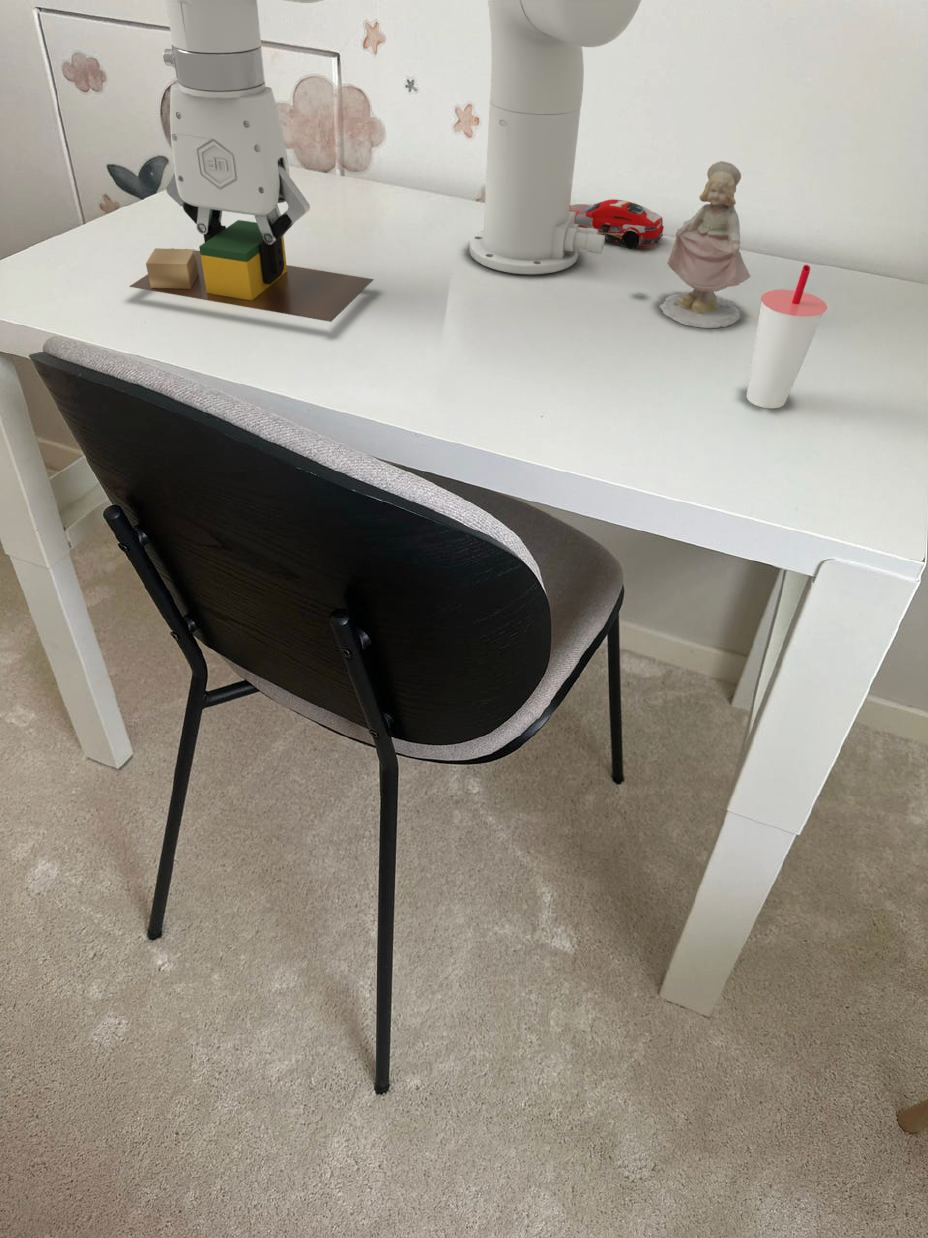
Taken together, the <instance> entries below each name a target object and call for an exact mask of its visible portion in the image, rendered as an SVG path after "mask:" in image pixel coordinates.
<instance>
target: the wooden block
mask: <svg viewBox="0 0 928 1238" xmlns="http://www.w3.org/2000/svg"><path fill="white" fill-rule="evenodd" d="M195 250H196V249H194V248H154V249H153V251H152V253H151V254H150V256H149V258H148V259H147V260H146V263H145V266H146V271H147V274H148V276H149V281H150V286H151V288H173V289H191V288H192V286H193V284H194V282H195V280H196V278H197V276H198V267H197V261H196V255H195Z"/></svg>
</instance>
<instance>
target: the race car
mask: <svg viewBox="0 0 928 1238" xmlns="http://www.w3.org/2000/svg"><path fill="white" fill-rule="evenodd" d="M569 211H571V212H575V221H574V224H578V227H582V228H593V229H598V235H605V241H608V242H614V243H623V245H624V246H625V247H626V248H628V249H634V248H636V247H637V246H639V247H640V246H641V247H642V246H644V247H645V246H652V245H654V244H658V243H659V241H660V240H661V239H662V237H663V236H664V234H663V232H664V225H663V224H664V223H663V216H661V215H660V214H658V213H656V212H653V211H652V210H651V209H648V208H647V207H645V206H644V205H641V204H637V203H635V202H631V201H627V200H623V199H617V198H616V199H614V198H613V199H607V200H602V201H600V202H597V203H594V204H584V203H583V204H581V203H579V204H577V203H576V204H572V205H571V204H570V210H569Z"/></svg>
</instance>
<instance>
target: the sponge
mask: <svg viewBox="0 0 928 1238" xmlns="http://www.w3.org/2000/svg"><path fill="white" fill-rule="evenodd" d="M284 237H285V236H284V235H283V236H282V237H281V239H282V248H283V258H284V270H283V272H282V275H283V274H285V273H286V272H287V266H286V265H287V257H286V247H285V238H284ZM262 242H263V238H262V235H261V233H260V230H259V227H258V224H257V222H256V221H248V220H241V219H237V220H236V221H234V222H233V223H232V224H230V225H229V226H226V229H224V230H223V231H221V232H220V233H218V234H217V235H215V236H214V237H212V238H211V239H209V240H208V241H207V242H205V241H204V242H203V243H202V244H200V245H199V246H198V247H199V249H198V250H199V251H200V254H201V261H202V267H203V273H204V279H205V285H206V291H207V293H209V294H215V295H221V296H227V297H233V298H239V299H245V300H251V301H252V300H253V299H255V298H256V297H257V296H258V295H259V294H261V293H262V292H263V291H264V290H265V289H267V288H268V287H269V286H270V285H271V284H273V283H274V282H275V281H276V280H277V279H279V278H280V277H281V276H282V275H281V276H280V277H279V278H277V279H276V280H275V281H274V282H273V283H271V284H265V283H264V282H263V278H262V270H261V261H260V253H259V244H260V243H262Z"/></svg>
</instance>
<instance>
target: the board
mask: <svg viewBox="0 0 928 1238" xmlns="http://www.w3.org/2000/svg"><path fill="white" fill-rule="evenodd" d="M194 250H195V255H196V261H197V267H198V276H197V278H196V280H195V282H194V284H193V286H192V288H191V289H173V288H151V286H150V281H149V276H148V273H147V274H146V275H144V276H143V277H141V278H140V279H138V280H137V281H135V282H133V283H132V284H131V285H129V288H133V289H139V290H144V291H145V290H147V291H152V292H158V293H162V294H169V295H175V296H181V297H186V298H191V299H199V300H203V301H208V302H215V303H221V304H227V305H232V306H238V307H244V308H249V309H254V310H260V311H267V312H272V313H273V312H274V313H278V314H285V315H290V316H297V317H301V318H307V319H313V320H319V321H324V322H332V321H333V320H334V319H335V318H336V317H338V315H340V314H341V313H342V312H343V311H344V309H345V308H347V307H348V306H349V305H350V304H351V303H352V302H353V301H354V300H355V299H356V297H358V296H359V295H360V294H361V293H362V292H363V291H364V290H365V289H366V288H367V287H368V286H369V285H370V284H371V283H372V282H373V281H374V279H373V278H368V277H363V276H357V275H350V274H344V273H338V272H331V271H325V270H319V269H313V268H307V267H300V266H294V265H288V264H286V266H287V272H286V273H285V274H283V275H282V276H281V277H280V278H279V279H277V280H276V281H275V282H274V283H273V284H271V285H270V286H269V287H268V288H267V289H265V290H264V291H263V292H262V293H261V294H259V295H258V296H257V297H256V298H255V299H253V300H252V301H251V300H245V299H239V298H233V297H227V296H221V295H215V294H209V293H207V291H206V285H205V279H204V273H203V267H202V261H201V254H200V250H196V249H194Z"/></svg>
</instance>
